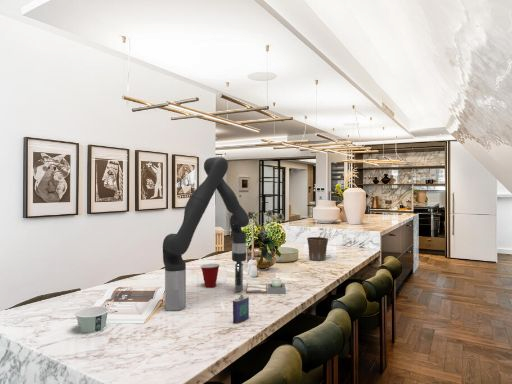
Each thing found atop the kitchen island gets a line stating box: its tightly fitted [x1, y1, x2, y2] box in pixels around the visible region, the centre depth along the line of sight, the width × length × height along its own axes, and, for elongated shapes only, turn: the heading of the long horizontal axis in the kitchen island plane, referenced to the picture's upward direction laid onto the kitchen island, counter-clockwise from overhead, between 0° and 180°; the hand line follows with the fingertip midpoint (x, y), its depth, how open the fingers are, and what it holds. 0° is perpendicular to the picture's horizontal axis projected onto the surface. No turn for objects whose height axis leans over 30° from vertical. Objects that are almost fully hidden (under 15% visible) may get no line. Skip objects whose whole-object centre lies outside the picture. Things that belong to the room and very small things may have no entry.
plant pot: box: [306, 236, 329, 262], centre depth 275 cm, size 16×16×16 cm
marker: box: [234, 267, 244, 291], centre depth 189 cm, size 4×4×11 cm
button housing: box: [267, 282, 287, 295], centre depth 189 cm, size 9×9×3 cm
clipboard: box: [245, 283, 268, 295], centre depth 194 cm, size 16×11×1 cm
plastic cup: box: [199, 263, 221, 289], centre depth 200 cm, size 11×11×12 cm
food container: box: [74, 305, 110, 333], centre depth 140 cm, size 12×12×6 cm
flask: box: [232, 293, 250, 325], centre depth 148 cm, size 9×3×11 cm, turn 144°
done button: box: [271, 279, 282, 287], centre depth 189 cm, size 5×5×4 cm
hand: (238, 284), depth 189 cm, fingers closed on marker, 4 cm apart
